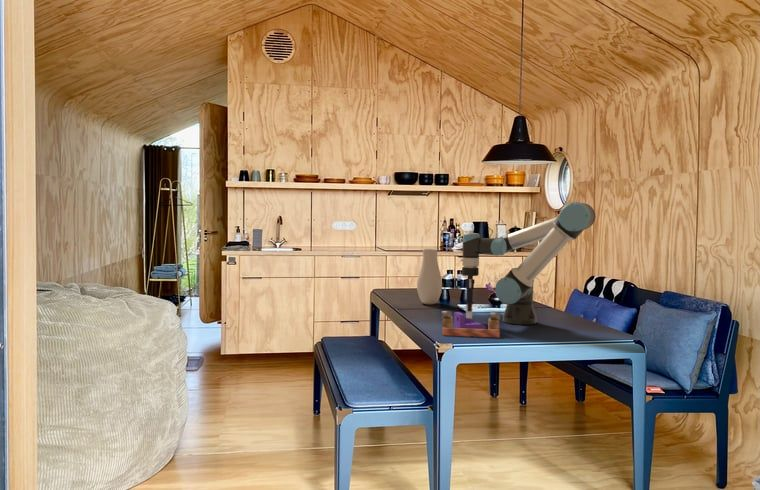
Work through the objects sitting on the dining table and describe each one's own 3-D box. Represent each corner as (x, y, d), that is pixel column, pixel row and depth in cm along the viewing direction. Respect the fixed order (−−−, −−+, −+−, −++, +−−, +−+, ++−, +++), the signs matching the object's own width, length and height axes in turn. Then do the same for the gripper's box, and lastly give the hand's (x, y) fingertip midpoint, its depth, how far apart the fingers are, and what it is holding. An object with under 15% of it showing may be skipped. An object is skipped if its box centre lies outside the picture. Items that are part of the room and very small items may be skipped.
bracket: (459, 330, 262) (460, 314, 261) (454, 327, 268) (454, 312, 268) (485, 329, 264) (486, 313, 264) (479, 326, 271) (479, 311, 271)
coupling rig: (499, 332, 256) (499, 311, 256) (500, 337, 246) (501, 315, 246) (441, 330, 260) (442, 309, 259) (440, 335, 249) (441, 313, 249)
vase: (429, 301, 345) (430, 248, 343) (447, 304, 334) (448, 249, 333) (411, 303, 336) (412, 248, 334) (429, 306, 325) (430, 250, 324)
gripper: (462, 265, 286) (460, 315, 288) (462, 267, 273) (460, 320, 275) (478, 265, 285) (476, 315, 287) (479, 268, 273) (477, 320, 274)
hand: (469, 317), depth 281 cm, fingers closed
